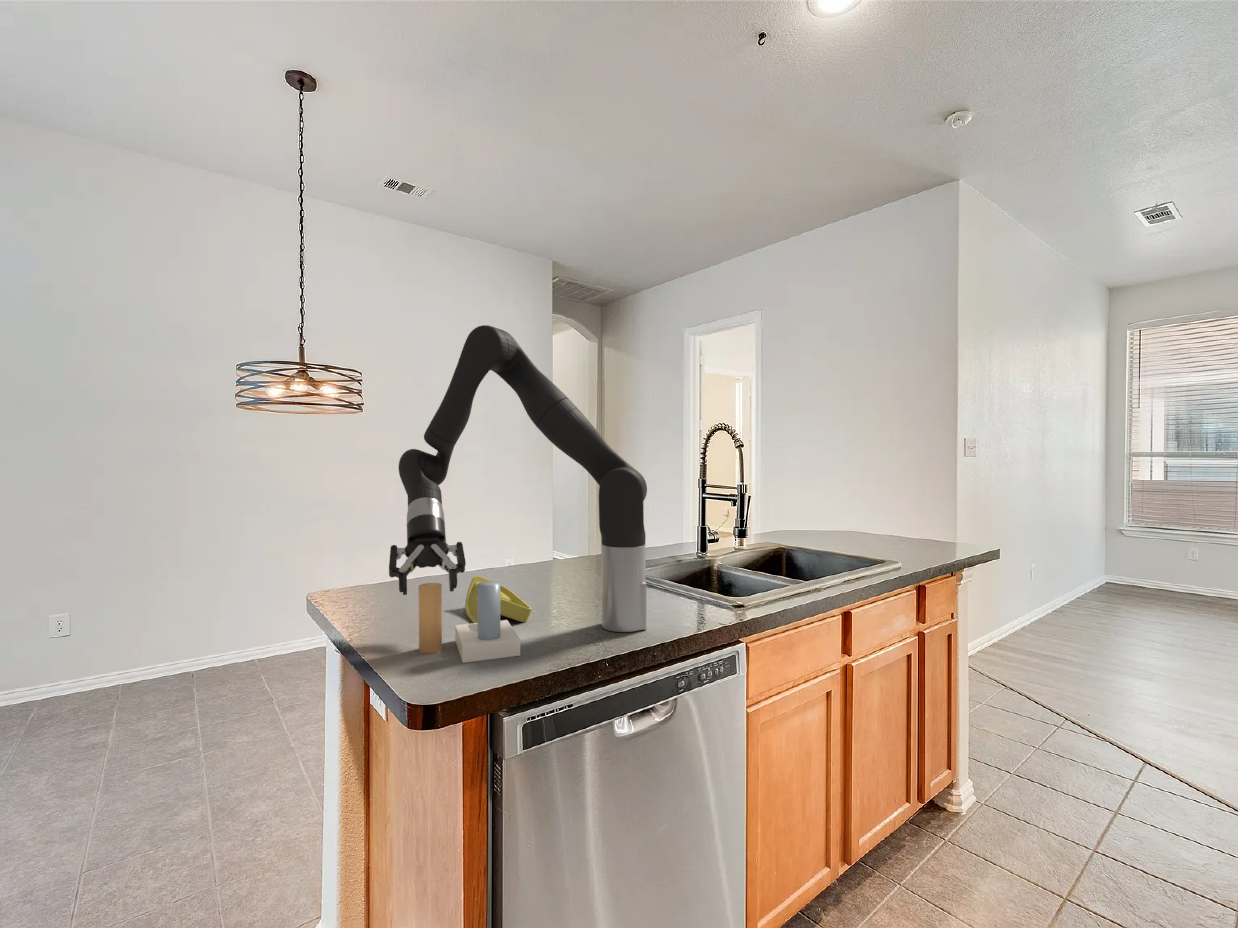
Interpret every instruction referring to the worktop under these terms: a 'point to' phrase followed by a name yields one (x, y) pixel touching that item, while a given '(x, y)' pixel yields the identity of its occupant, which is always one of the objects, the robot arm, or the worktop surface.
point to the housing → (487, 630)
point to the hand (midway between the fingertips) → (428, 590)
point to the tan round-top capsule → (430, 618)
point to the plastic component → (508, 603)
